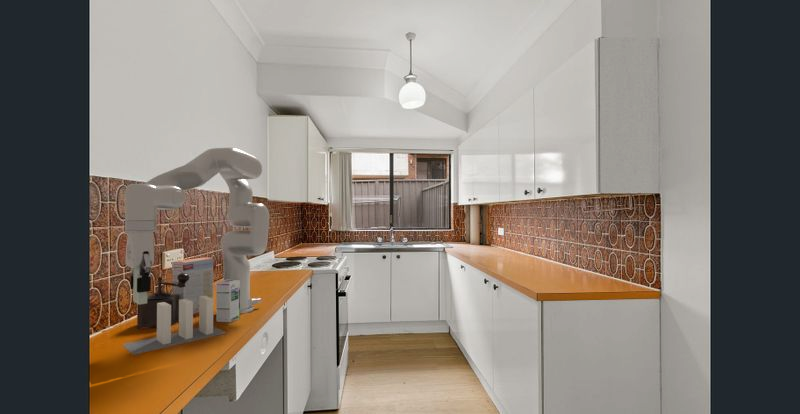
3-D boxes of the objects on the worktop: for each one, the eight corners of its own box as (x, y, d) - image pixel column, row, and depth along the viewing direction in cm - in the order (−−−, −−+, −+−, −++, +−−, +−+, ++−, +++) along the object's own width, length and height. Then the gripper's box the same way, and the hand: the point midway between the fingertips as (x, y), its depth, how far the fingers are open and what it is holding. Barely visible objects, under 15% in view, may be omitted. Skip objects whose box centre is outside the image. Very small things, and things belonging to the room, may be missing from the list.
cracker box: (202, 309, 154) (202, 256, 154) (214, 310, 152) (214, 257, 152) (170, 318, 141) (171, 261, 141) (183, 319, 139) (183, 261, 139)
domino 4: (205, 329, 126) (205, 295, 126) (213, 333, 122) (213, 298, 122) (199, 330, 124) (199, 296, 124) (206, 334, 120) (206, 299, 120)
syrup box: (230, 323, 134) (230, 282, 134) (215, 322, 135) (215, 281, 135) (240, 319, 139) (240, 279, 139) (226, 318, 140) (226, 278, 141)
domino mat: (211, 326, 130) (211, 325, 130) (226, 334, 122) (226, 333, 122) (122, 345, 111) (122, 344, 111) (133, 356, 103) (133, 354, 103)
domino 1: (141, 300, 112) (141, 262, 113) (147, 303, 108) (147, 264, 108) (133, 301, 111) (133, 263, 111) (138, 304, 107) (139, 265, 107)
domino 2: (164, 338, 117) (164, 301, 117) (170, 342, 113) (171, 305, 113) (156, 339, 115) (157, 303, 115) (163, 344, 111) (163, 306, 111)
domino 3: (185, 333, 121) (185, 298, 121) (192, 337, 117) (193, 301, 117) (178, 335, 120) (179, 299, 120) (185, 339, 116) (185, 302, 116)
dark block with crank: (134, 330, 126) (135, 275, 126) (147, 321, 137) (147, 270, 137) (187, 326, 130) (187, 273, 130) (195, 318, 141) (195, 269, 141)
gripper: (117, 226, 113) (117, 288, 113) (133, 228, 101) (132, 296, 101) (147, 226, 119) (146, 284, 118) (165, 227, 107) (164, 292, 107)
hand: (140, 289), depth 110 cm, fingers closed on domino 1, 5 cm apart
